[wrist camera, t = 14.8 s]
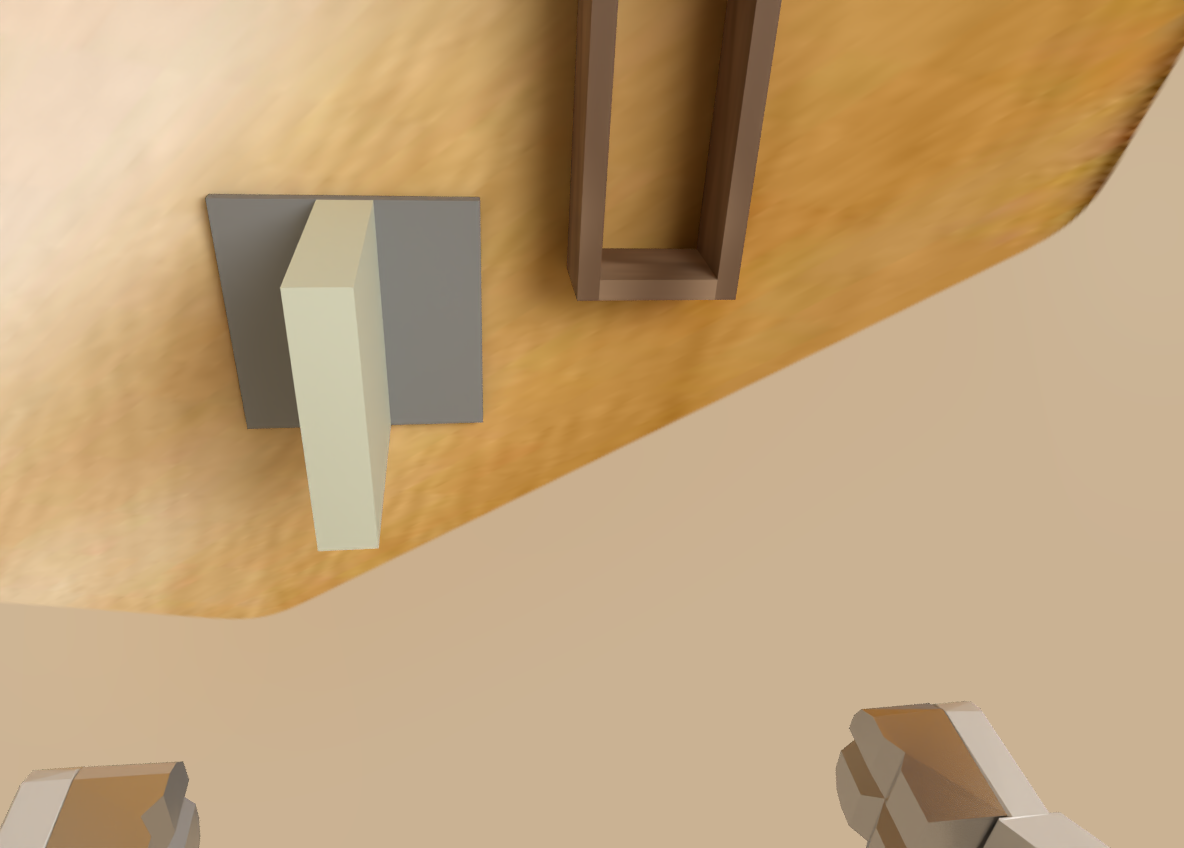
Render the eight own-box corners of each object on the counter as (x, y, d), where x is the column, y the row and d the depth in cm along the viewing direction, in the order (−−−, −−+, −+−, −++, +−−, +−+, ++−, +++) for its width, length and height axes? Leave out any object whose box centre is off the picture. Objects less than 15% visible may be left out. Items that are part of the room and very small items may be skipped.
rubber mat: (249, 422, 45) (247, 428, 44) (208, 194, 38) (205, 198, 38) (482, 416, 47) (482, 422, 46) (479, 197, 40) (480, 201, 40)
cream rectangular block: (342, 426, 45) (318, 550, 37) (315, 199, 39) (280, 287, 30) (390, 425, 45) (378, 548, 37) (373, 200, 39) (353, 287, 31)
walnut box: (566, 267, 43) (577, 300, 39) (584, -142, 34) (599, -145, 30) (713, 267, 44) (735, 299, 40) (767, -129, 35) (801, -130, 32)
